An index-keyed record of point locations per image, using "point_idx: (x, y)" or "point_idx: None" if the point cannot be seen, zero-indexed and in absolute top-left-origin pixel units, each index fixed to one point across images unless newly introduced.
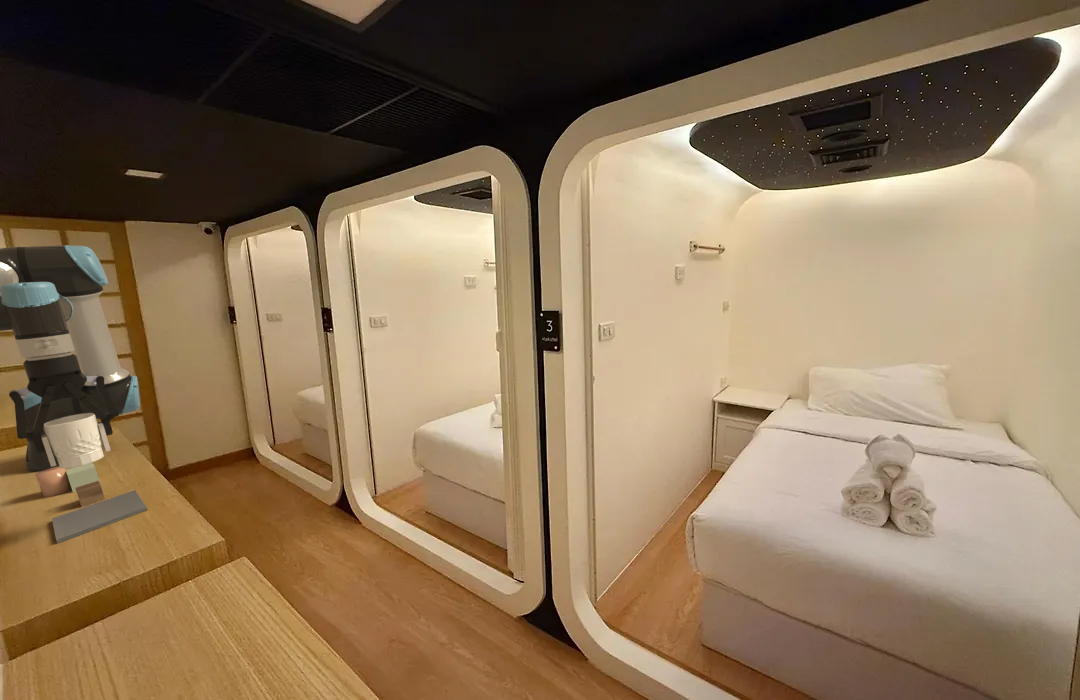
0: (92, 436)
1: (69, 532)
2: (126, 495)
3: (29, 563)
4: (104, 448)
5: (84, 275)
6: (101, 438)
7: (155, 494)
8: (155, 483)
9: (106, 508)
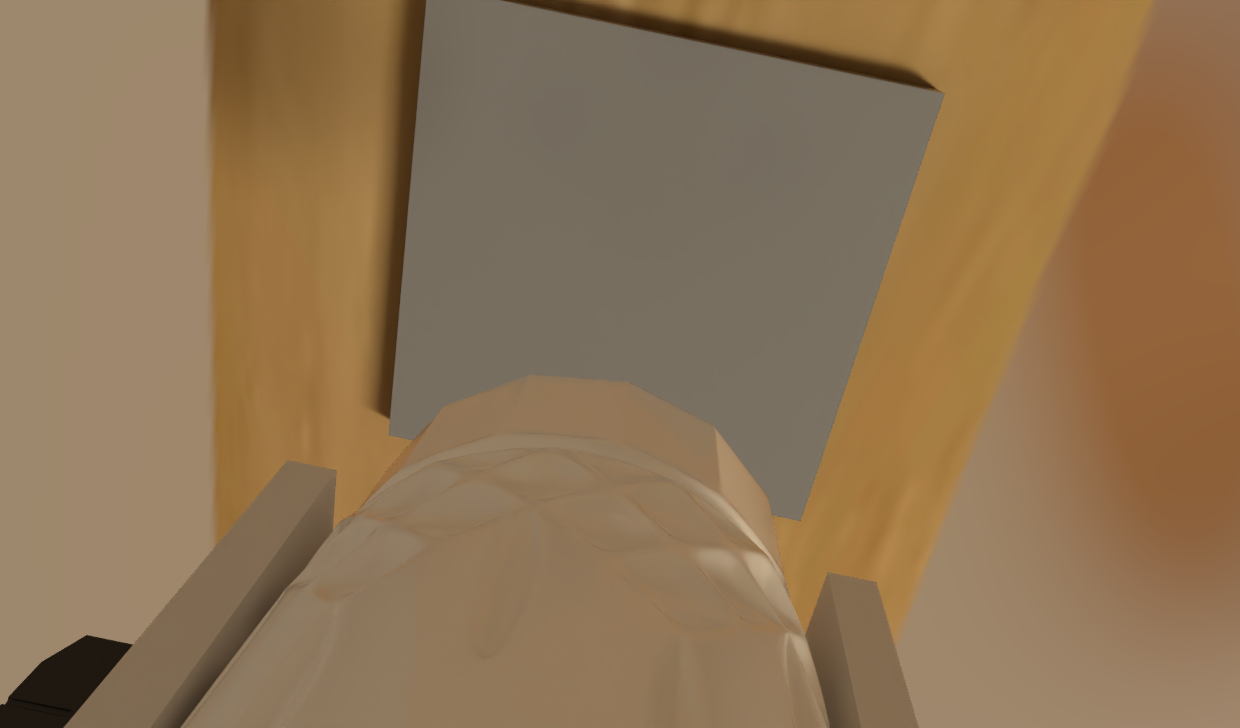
0: None
1: None
2: (857, 147)
3: None
4: (824, 596)
5: None
6: (849, 726)
7: (963, 302)
8: (1119, 34)
9: (684, 256)
